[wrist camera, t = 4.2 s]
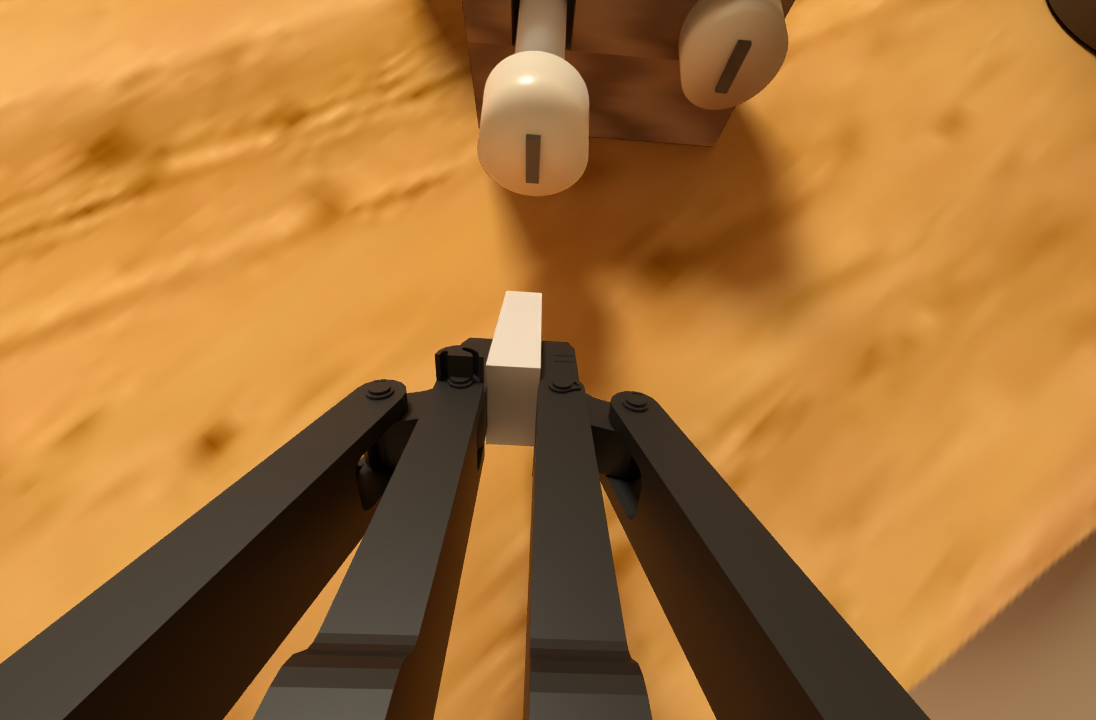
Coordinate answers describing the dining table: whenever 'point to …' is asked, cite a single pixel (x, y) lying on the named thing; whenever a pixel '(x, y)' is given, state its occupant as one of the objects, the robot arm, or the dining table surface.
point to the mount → (650, 60)
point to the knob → (535, 108)
